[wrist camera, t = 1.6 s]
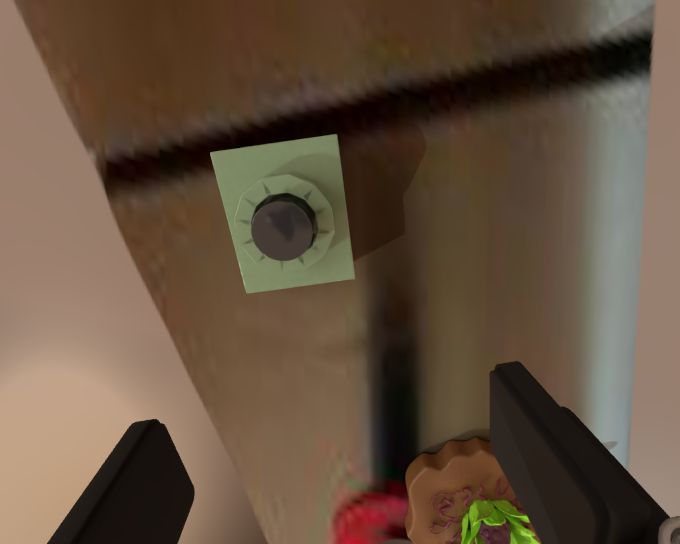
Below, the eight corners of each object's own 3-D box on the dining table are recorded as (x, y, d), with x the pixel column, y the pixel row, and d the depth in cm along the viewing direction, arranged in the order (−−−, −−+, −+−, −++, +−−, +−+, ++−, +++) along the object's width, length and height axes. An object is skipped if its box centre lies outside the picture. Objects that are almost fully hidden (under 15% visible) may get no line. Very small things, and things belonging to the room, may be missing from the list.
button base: (226, 151, 27) (199, 152, 21) (335, 135, 27) (338, 132, 21) (256, 275, 31) (240, 304, 25) (352, 262, 31) (357, 289, 25)
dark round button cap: (251, 201, 23) (244, 206, 21) (308, 192, 23) (307, 197, 21) (263, 255, 24) (258, 265, 22) (317, 248, 24) (316, 257, 22)
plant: (541, 537, 46) (604, 652, 36) (402, 547, 46) (424, 665, 36) (571, 428, 39) (659, 532, 29) (406, 439, 39) (434, 547, 28)
